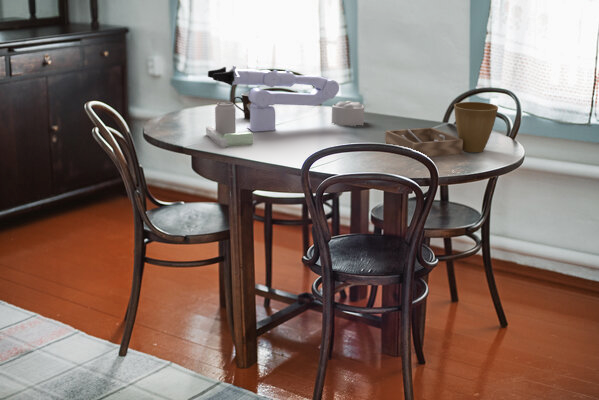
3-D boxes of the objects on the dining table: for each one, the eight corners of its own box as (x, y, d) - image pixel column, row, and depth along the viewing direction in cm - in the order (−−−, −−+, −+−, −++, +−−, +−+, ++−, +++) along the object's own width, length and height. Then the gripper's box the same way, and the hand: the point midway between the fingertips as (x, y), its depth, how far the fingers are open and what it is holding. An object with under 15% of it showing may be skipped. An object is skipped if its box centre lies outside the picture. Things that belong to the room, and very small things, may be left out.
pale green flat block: (236, 132, 289) (236, 122, 288) (254, 145, 270) (254, 134, 269) (206, 134, 285) (206, 124, 284) (221, 147, 266) (221, 136, 265)
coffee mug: (266, 117, 318) (266, 94, 315) (254, 121, 311) (254, 96, 308) (244, 114, 323) (244, 91, 320) (231, 117, 316) (231, 93, 313)
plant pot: (446, 145, 274) (449, 101, 269) (486, 145, 275) (490, 101, 270) (456, 155, 260) (460, 109, 255) (499, 155, 261) (503, 109, 256)
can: (227, 137, 281) (227, 105, 277) (211, 135, 285) (210, 103, 281) (239, 134, 287) (239, 102, 283) (223, 131, 291) (223, 100, 287)
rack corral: (430, 140, 281) (431, 127, 279) (461, 154, 262) (463, 139, 261) (384, 144, 274) (385, 130, 273) (413, 158, 256) (414, 143, 254)
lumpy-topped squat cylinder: (363, 126, 304) (364, 105, 302) (331, 125, 305) (331, 104, 302) (363, 121, 314) (364, 100, 311) (331, 120, 315) (332, 99, 312)
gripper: (240, 64, 293) (206, 62, 288) (252, 69, 280) (216, 67, 275) (239, 82, 295) (205, 80, 290) (250, 88, 282) (215, 86, 277)
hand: (210, 75), depth 282 cm, fingers open, 7 cm apart
